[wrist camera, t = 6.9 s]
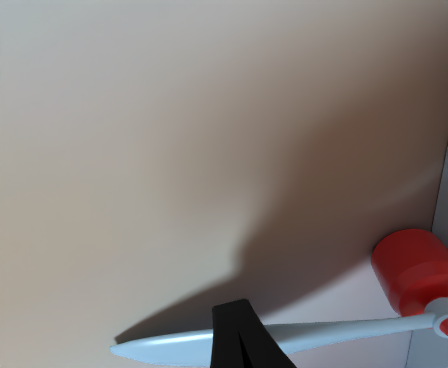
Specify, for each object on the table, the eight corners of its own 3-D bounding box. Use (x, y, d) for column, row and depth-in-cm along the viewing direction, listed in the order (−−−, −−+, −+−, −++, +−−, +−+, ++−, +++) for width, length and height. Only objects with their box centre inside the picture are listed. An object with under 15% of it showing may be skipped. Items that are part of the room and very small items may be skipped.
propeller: (760, 253, 12) (985, 350, 8) (152, 320, 17) (121, 400, 13) (813, 150, 10) (1123, 213, 7) (122, 256, 15) (78, 327, 11)
